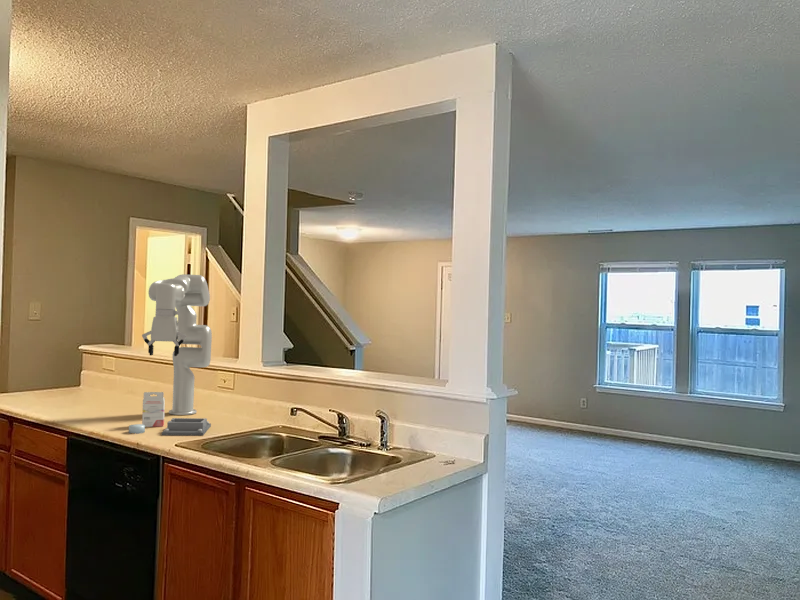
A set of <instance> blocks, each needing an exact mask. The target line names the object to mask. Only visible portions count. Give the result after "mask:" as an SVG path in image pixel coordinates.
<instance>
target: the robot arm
mask: <svg viewBox="0 0 800 600" xmlns="http://www.w3.org/2000/svg"><path fill="white" fill-rule="evenodd" d="M148 297H149V299H150V300H151V301H153V302H155V316H153V318H152V322H151V330H149V331H147V332H145V333H143V334H142V335H141V336H142V340H144V343H146V344H147V346H148V350H147V351H148V354H149V356H153V355H154V347H155V346H154V343H155V342H173V344H174V345H175V346H174V350H173V351H172V365H173V384H172V405H171V406H172V408H171V409H169V410H168V414H169V415H174V416H186V415H187V416H189V415H194V414H197V410H198V409H195V408H194V404H195V403H194V401H195V400H194V398H195V397H194V396H195V380H196V379H195V374H194V372H193V371H192V370H191V369H190V368H207V367H209V366H210V364H211V360H212V359H211V358H212V342H213V339H212V338H213V337H212V336H213V335H212V333H213V332H212V329H211V327H210V326H209V325H207V324H197V317H198V315H197V312H196V311H195V309H194V308H193V307H207V306H208V305H209V303H210V300H211V295H210V290H209V286H208V283H207V280H206V278H205V277H204V276H203V275H201V274H186V273H185V274H179V275H177V276H175V277H173V278H167V279H161V280H156V281H154V282H152V283H151V284H150V286H149V287H148ZM176 316H177V317H176ZM149 335H150V340H149V339H148V336H149ZM181 345H199V346H200V347H198V346H197V347H194V346H181Z"/></svg>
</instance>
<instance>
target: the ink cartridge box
mask: <svg viewBox="0 0 800 600" xmlns="http://www.w3.org/2000/svg"><path fill="white" fill-rule="evenodd" d="M165 398H166V397H164V391H148V392H147V391H144V392H143V399H142V415H141V416H142V417H141V418H142V420H141V421H142V422H141V424H142V425H145V428H149V427H150V428H151V427H155V428H156V427H164V425H165V407H166V406H165V405H166V404H165V400H166V399H165Z"/></svg>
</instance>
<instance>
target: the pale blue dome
mask: <svg viewBox="0 0 800 600" xmlns="http://www.w3.org/2000/svg"><path fill="white" fill-rule="evenodd" d="M145 432H146V427H145V425H142V423H137V424H130V425H129V426H128V434H131V433H134V434H135V433H136V434H135V435H138V434H144V433H145Z"/></svg>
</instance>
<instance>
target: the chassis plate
mask: <svg viewBox="0 0 800 600" xmlns="http://www.w3.org/2000/svg"><path fill="white" fill-rule="evenodd" d="M166 426H167V427H166V428H164V430H163V431H161V436H190V437H191V436H192V437H193V436H196V437H197V436H202V437H203V436H204V435H206V433H207V431H208V430H209V429H210V428H211V426H212V423H210V421H208V418H205V417H203V418H191V417H190V418H188V417H187V418H185V417H178V418H177V417H172V418H171V419H170V420H169V421H167V425H166Z"/></svg>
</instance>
